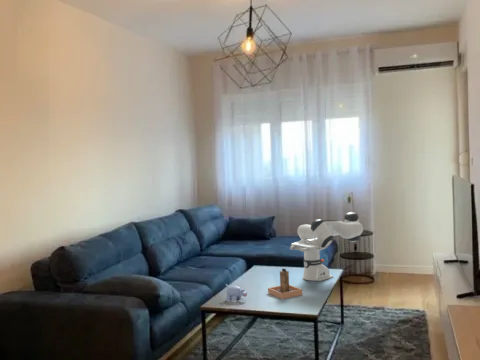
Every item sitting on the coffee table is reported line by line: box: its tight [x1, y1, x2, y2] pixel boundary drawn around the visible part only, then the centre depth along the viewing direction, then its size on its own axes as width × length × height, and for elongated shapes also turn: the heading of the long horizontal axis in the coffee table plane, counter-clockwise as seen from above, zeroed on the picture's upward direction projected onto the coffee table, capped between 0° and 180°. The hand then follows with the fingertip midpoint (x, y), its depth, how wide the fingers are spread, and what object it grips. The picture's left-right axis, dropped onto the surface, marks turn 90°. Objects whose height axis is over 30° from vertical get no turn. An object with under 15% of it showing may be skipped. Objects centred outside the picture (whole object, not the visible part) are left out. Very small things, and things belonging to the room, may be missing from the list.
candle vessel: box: [267, 284, 303, 300], centre depth 314 cm, size 16×16×4 cm
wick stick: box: [279, 268, 290, 292], centre depth 314 cm, size 4×4×16 cm
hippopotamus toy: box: [224, 283, 248, 303], centre depth 305 cm, size 11×15×10 cm
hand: (295, 249), depth 320 cm, fingers open, 8 cm apart
